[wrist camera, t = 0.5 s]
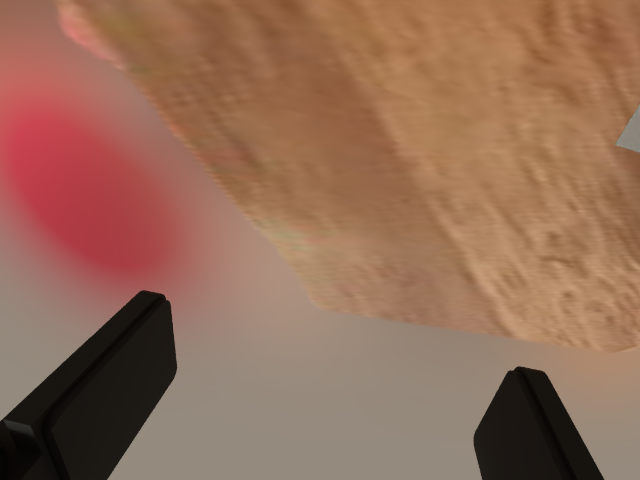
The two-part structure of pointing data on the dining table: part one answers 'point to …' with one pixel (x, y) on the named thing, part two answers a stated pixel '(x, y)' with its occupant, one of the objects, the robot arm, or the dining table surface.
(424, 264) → the dining table surface
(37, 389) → the robot arm
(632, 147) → the port block
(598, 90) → the dining table surface
